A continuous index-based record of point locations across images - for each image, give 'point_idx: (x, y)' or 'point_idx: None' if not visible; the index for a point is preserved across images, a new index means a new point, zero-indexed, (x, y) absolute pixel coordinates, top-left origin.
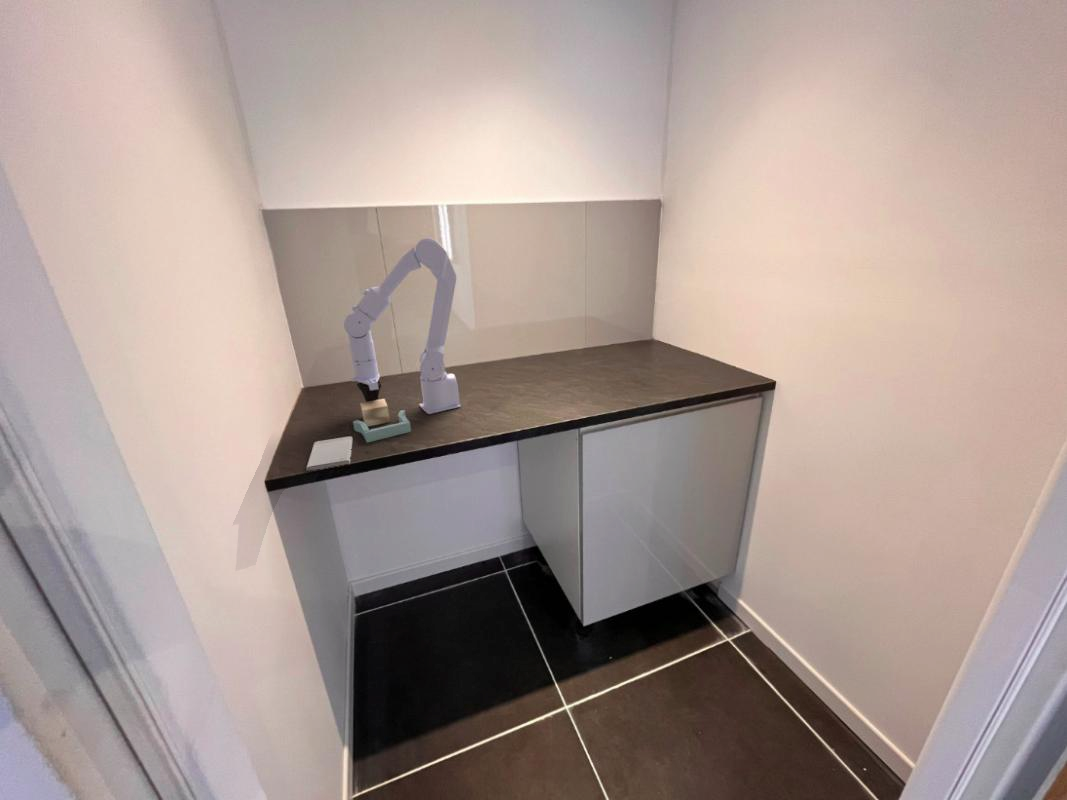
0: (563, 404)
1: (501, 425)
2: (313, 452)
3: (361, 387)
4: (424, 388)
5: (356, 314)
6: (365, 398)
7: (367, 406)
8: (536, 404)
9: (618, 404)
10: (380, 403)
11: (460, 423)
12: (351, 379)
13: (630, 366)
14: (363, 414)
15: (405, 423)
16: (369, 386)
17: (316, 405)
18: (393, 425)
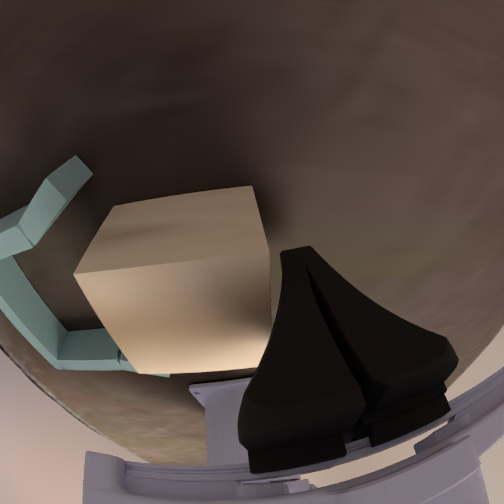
0: (178, 457)
1: (107, 425)
2: None
3: (240, 435)
4: (224, 458)
5: None
6: (279, 311)
7: (148, 301)
8: (188, 451)
9: (164, 464)
10: (186, 356)
11: (118, 405)
12: (406, 495)
13: None
14: (85, 253)
15: (48, 360)
16: (87, 482)
17: None
18: (26, 335)
